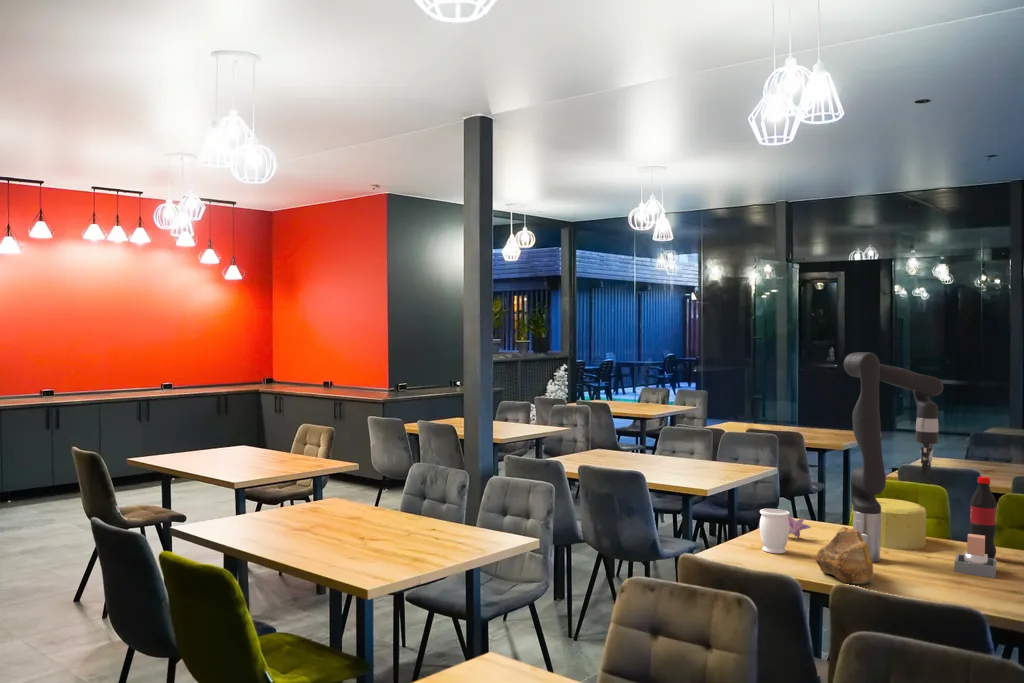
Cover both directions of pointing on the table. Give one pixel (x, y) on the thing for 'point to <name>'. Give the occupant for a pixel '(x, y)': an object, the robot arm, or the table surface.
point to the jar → (774, 530)
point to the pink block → (976, 544)
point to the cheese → (902, 524)
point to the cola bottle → (984, 515)
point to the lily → (796, 526)
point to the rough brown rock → (847, 557)
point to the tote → (975, 567)
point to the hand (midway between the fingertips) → (926, 473)
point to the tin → (976, 559)
